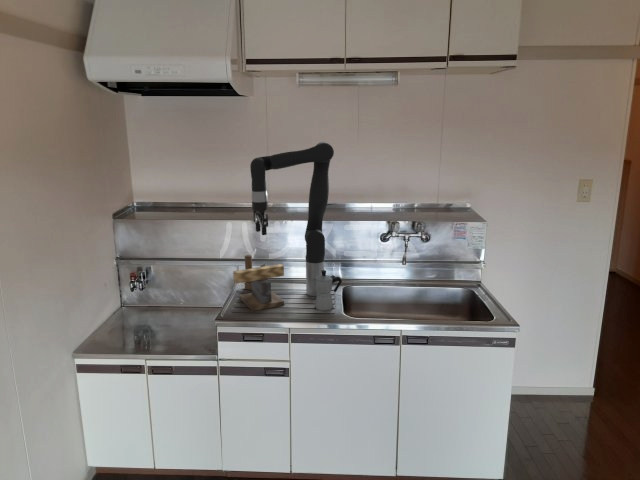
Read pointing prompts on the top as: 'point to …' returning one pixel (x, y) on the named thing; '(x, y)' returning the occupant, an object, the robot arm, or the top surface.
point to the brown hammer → (249, 266)
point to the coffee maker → (325, 290)
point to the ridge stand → (261, 296)
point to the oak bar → (258, 273)
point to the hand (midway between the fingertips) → (261, 233)
